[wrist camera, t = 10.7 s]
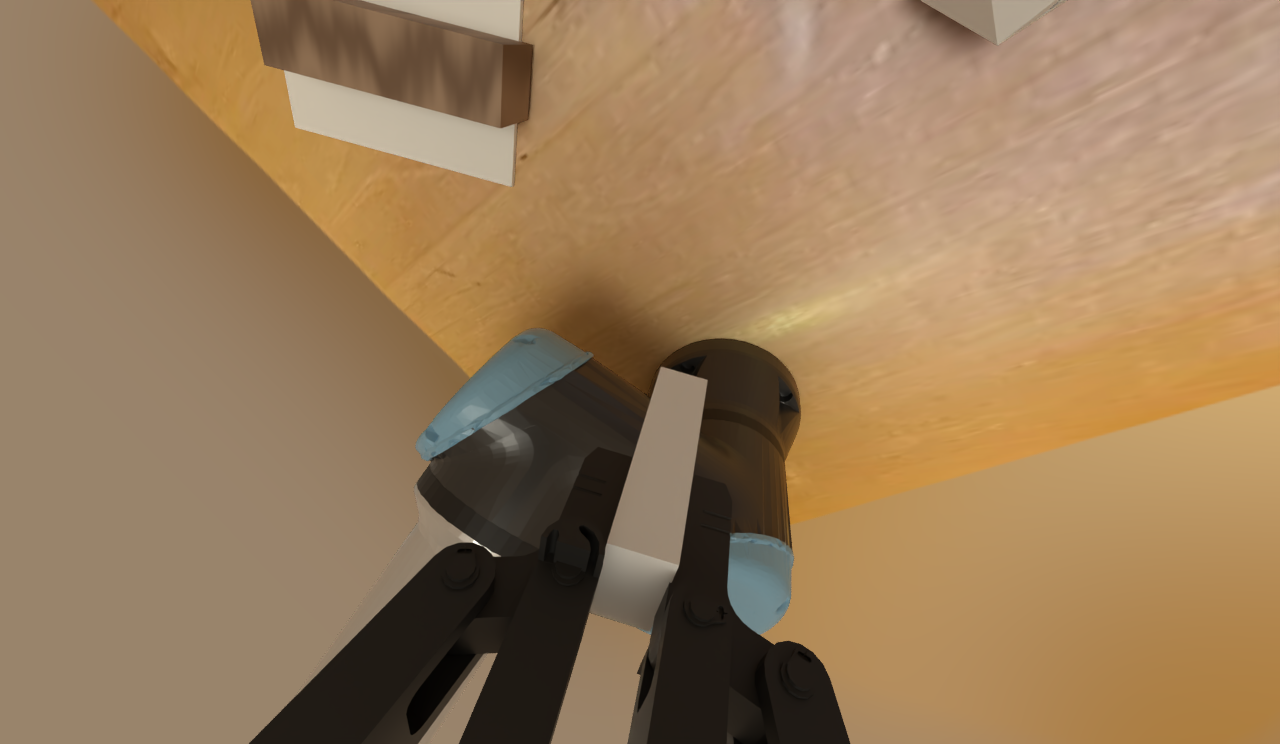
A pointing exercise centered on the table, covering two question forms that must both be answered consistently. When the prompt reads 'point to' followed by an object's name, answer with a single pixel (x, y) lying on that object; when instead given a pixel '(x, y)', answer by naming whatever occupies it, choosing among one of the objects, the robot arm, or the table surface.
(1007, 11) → the die
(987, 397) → the table surface
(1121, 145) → the table surface
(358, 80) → the walnut block
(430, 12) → the mat
